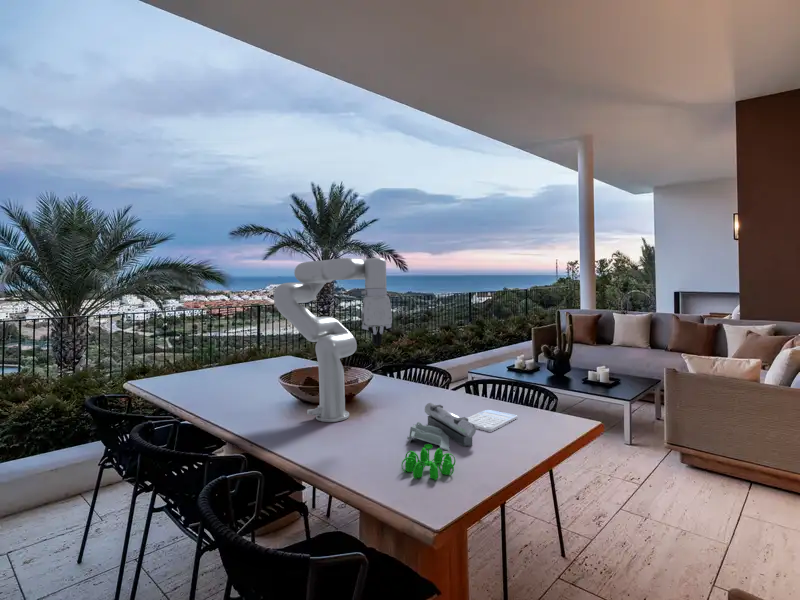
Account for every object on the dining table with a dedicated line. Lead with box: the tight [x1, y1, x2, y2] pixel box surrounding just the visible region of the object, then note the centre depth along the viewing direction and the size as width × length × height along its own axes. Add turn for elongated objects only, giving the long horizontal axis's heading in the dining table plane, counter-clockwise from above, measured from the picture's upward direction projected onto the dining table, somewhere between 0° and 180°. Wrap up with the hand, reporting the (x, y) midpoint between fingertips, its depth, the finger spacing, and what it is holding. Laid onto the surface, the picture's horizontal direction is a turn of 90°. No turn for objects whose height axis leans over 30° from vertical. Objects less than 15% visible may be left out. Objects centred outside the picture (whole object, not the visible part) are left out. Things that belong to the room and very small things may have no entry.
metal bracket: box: [407, 421, 451, 451], centre depth 138 cm, size 14×6×15 cm
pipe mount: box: [424, 402, 477, 448], centre depth 144 cm, size 4×26×7 cm, turn 24°
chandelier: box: [401, 443, 456, 481], centre depth 117 cm, size 15×15×7 cm
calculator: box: [466, 409, 518, 433], centre depth 157 cm, size 13×20×2 cm, turn 137°
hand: (377, 345), depth 152 cm, fingers closed
